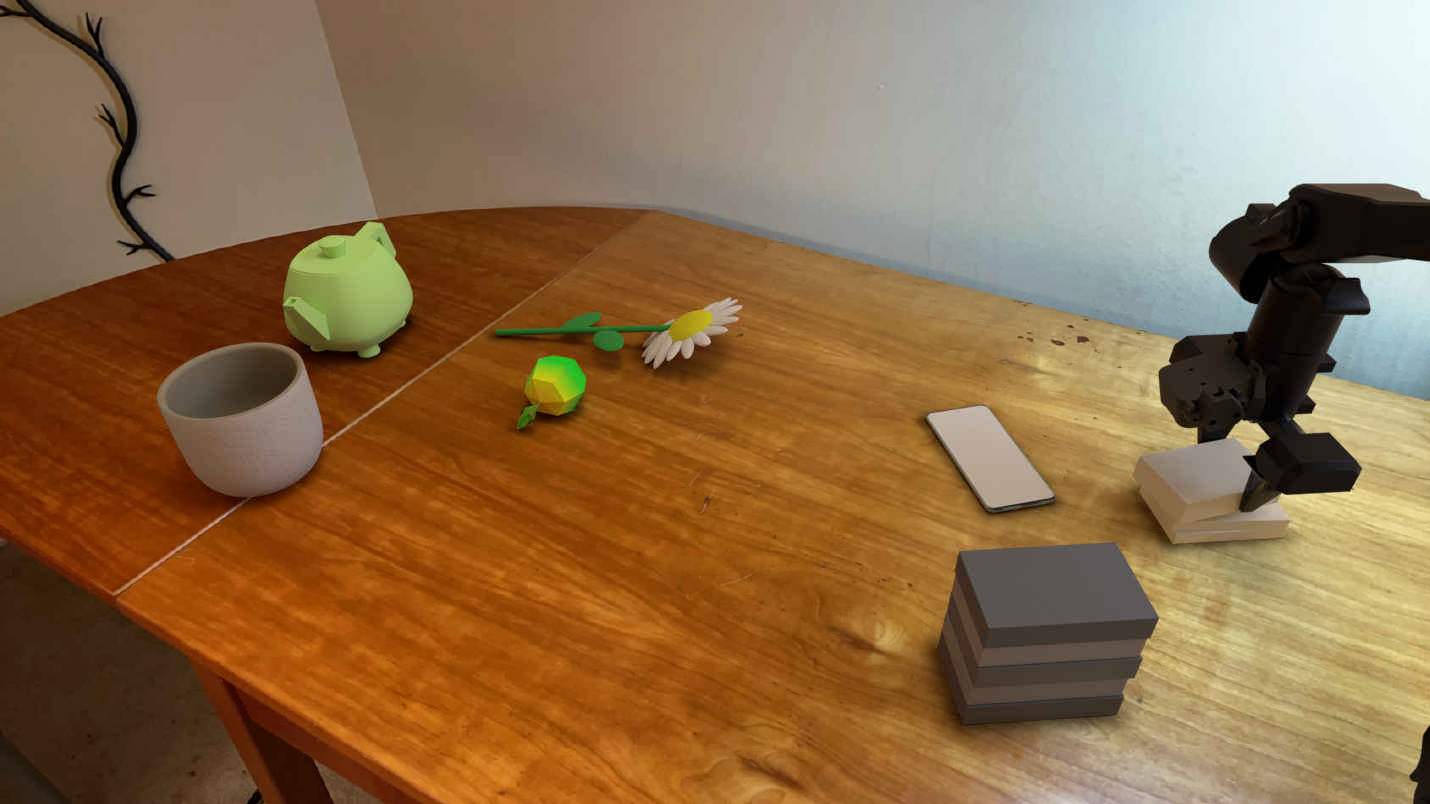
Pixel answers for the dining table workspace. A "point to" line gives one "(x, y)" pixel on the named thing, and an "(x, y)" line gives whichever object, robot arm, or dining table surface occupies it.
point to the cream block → (1197, 479)
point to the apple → (553, 388)
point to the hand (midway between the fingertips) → (1223, 482)
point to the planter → (244, 418)
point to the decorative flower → (663, 339)
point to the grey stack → (1043, 632)
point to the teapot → (347, 292)
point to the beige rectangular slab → (1223, 524)
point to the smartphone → (990, 459)
